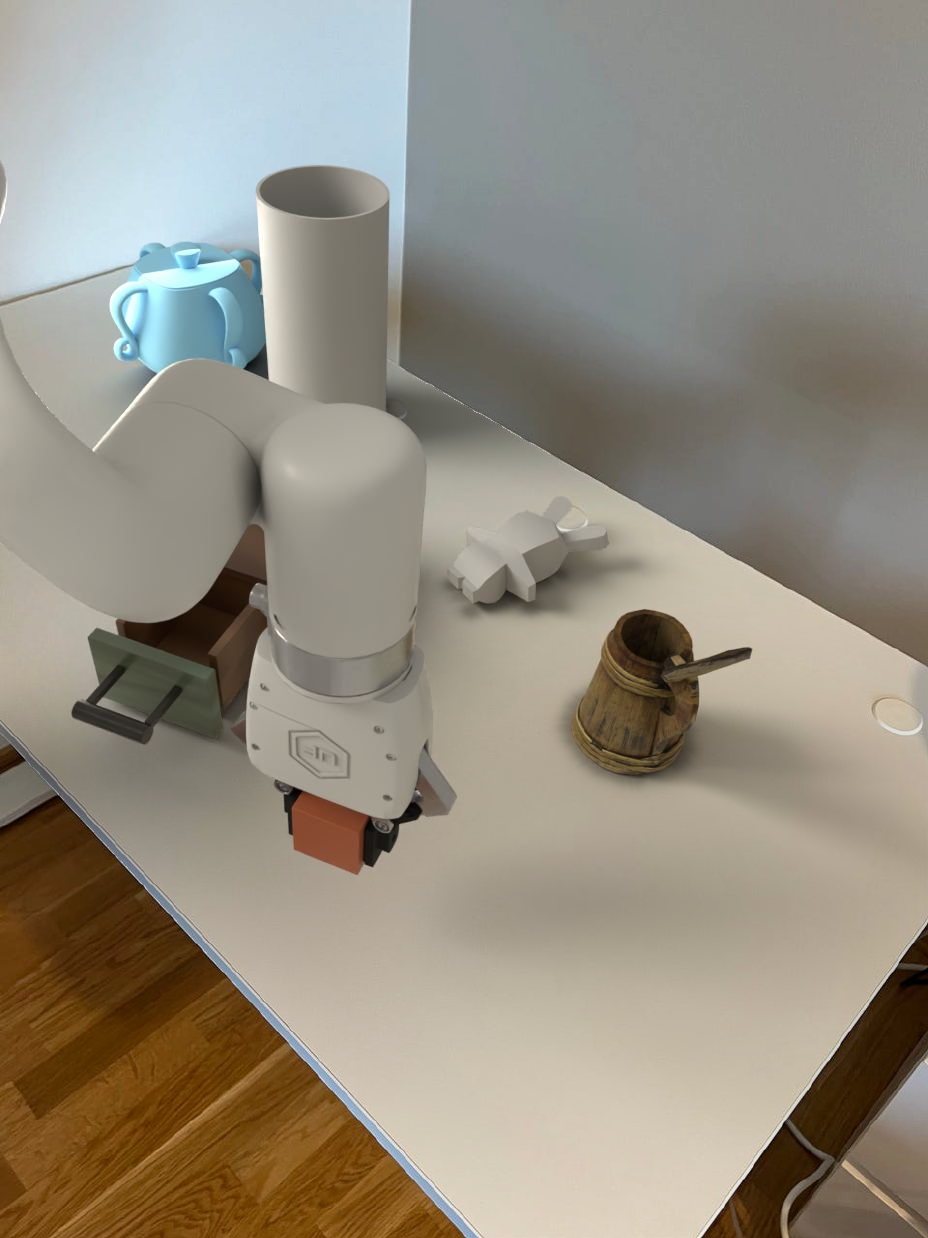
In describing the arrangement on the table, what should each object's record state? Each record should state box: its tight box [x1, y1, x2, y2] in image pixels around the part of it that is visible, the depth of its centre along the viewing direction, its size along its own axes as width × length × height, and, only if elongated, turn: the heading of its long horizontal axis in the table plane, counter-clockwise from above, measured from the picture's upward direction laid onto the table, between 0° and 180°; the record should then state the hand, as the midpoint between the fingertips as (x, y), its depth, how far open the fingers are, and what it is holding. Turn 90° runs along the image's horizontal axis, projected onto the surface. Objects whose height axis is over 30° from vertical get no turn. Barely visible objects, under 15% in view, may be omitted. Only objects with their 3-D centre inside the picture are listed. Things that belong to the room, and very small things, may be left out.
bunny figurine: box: [447, 495, 610, 605], centre depth 100 cm, size 10×5×15 cm
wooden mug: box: [570, 608, 753, 776], centre depth 80 cm, size 9×14×18 cm, turn 20°
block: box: [292, 791, 371, 876], centre depth 67 cm, size 4×4×4 cm
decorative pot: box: [109, 241, 266, 375], centre depth 120 cm, size 16×16×14 cm
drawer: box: [71, 572, 268, 746], centre depth 84 cm, size 18×10×7 cm, turn 158°
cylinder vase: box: [255, 164, 391, 412], centre depth 109 cm, size 12×12×25 cm
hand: (341, 832), depth 68 cm, fingers closed on block, 4 cm apart
